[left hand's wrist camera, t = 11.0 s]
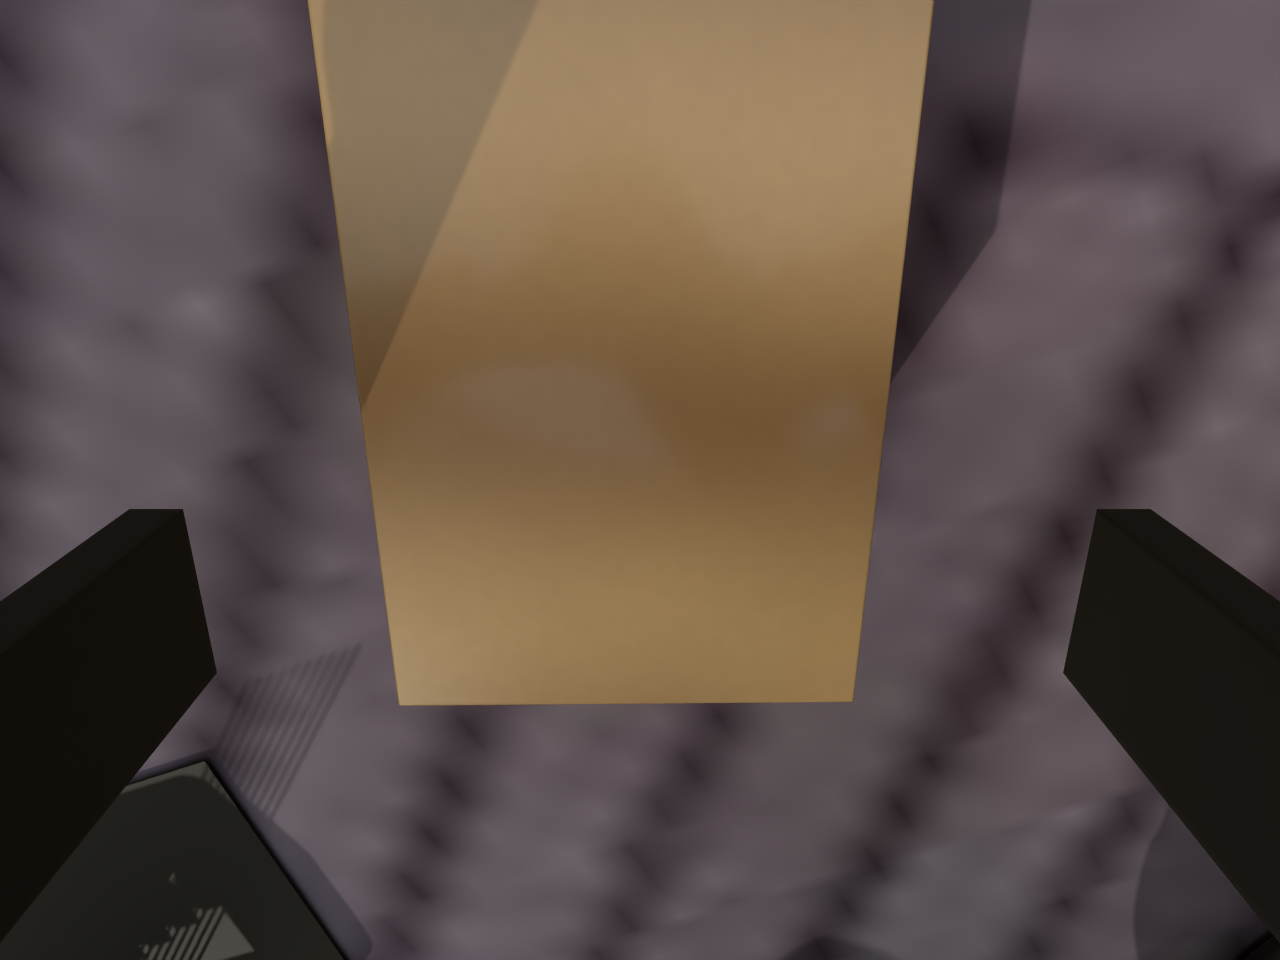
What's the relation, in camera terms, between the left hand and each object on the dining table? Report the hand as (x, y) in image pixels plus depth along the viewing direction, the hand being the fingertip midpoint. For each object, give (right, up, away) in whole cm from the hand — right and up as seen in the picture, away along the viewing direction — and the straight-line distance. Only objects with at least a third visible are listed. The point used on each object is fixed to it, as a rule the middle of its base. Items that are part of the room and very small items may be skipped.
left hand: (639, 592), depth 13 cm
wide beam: (0, +31, -2) cm, 31 cm away
